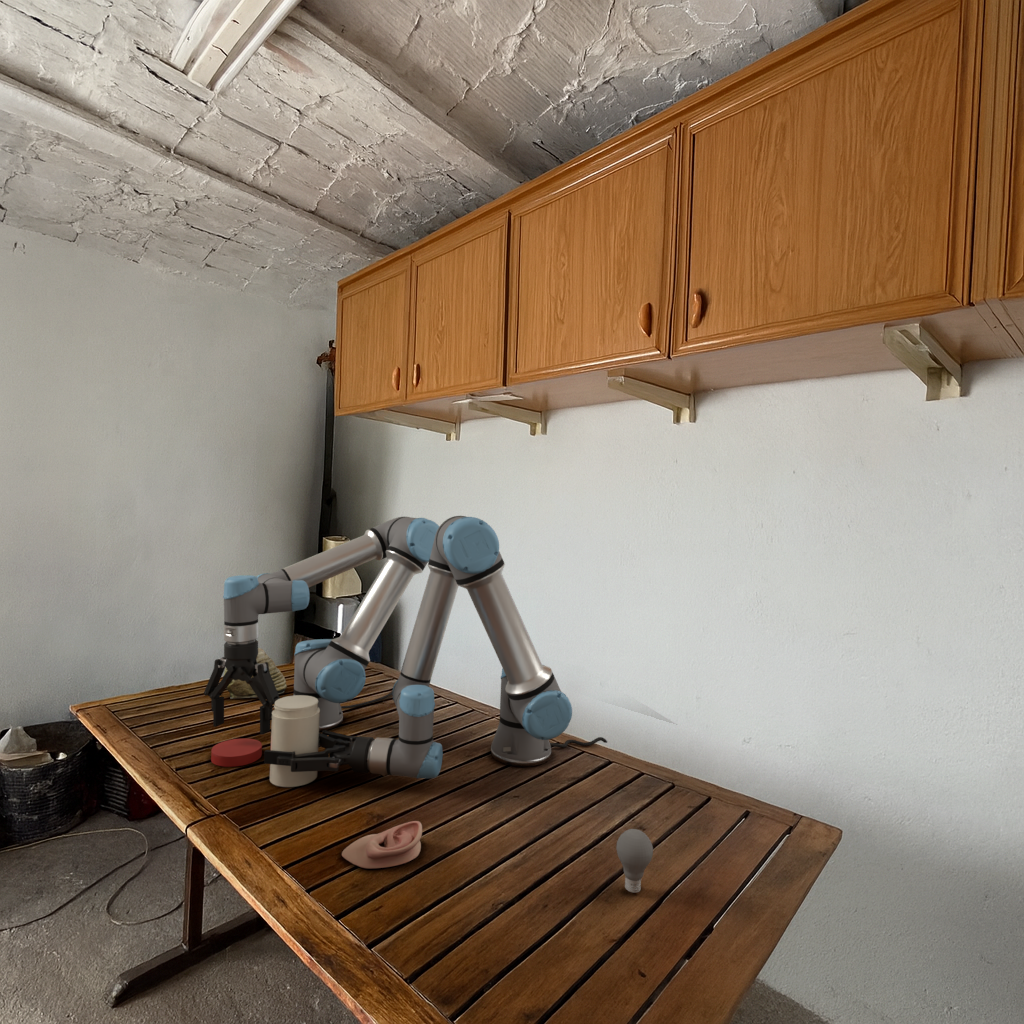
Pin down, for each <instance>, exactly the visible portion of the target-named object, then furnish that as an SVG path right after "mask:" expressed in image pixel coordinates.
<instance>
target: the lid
mask: <svg viewBox="0 0 1024 1024" xmlns="http://www.w3.org/2000/svg"><path fill="white" fill-rule="evenodd" d="M210 752H211V753H210V754H211V755H210V762H211V764H213V765H215V766H219V767H222V768H223V767H225V768H234V767H240V766H241V767H242V766H246V765H250V764H253V763H254V762H257V761H258V760H260V759H261V757H262V755H263V744H262V742H261V741H260V740H258V739H253V738H248V737H247V738H246V737H245V738H234V739H227V740H223V741H220V742H219V743H217V744H215V745H213V747H212V748H211V751H210Z"/></svg>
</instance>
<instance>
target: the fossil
mask: <svg viewBox="0 0 1024 1024" xmlns="http://www.w3.org/2000/svg"><path fill="white" fill-rule="evenodd" d="M256 660H257V663H258V664H261V663H265V662H267V663H268V664H269V672H270V675H271V677H272V680H273V682H274V685H275V687H276V690H277V692H278V695H281V694H284V693H285V691H286V689H287V687H288V686H287V680H286V678H285V676H284V674H283V673H282V672H281V669H279V668H278V667H277V665H276V663H275V662H274V660H273V659H272V658H271V657H270V656H269V655H268V654H267V653H266V652H265V650H264V649H263V648H260V647H258V655H257V658H256ZM227 671H228V670H227V668H226V667H225V669H224V672H223V674H222V677H223V676H224V675H225V673H226V672H227ZM251 678H253V676H252V677H251ZM225 690H226V691H228V693H229V698H230V699H250V698H258V697H257V695H256V694H255V692H254V691H253V689H252V687H251V686H250V684H247V683H246V681H241V680H232V681H231V683H230V684H229V685H228V687H227V688H226V689H225Z"/></svg>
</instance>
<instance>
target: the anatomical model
mask: <svg viewBox="0 0 1024 1024" xmlns="http://www.w3.org/2000/svg"><path fill="white" fill-rule="evenodd" d="M422 835H423V825H422V823H421V821H419V820H412V821H407V822H404V823H401V824H398V825H395V826H393V827H390V828H389V829H386V830H384V831H381V832H379V833H372V834H367V835H365V836H363V837H360V838H358V839H357V840H355V841H353V842H352V843H350V844H349V845H347V846H346V847H345V848H344V849H343V851H341V856H342V858H343V859H345V860H346V861H347V862H349V863H350V864H352V865H355V866H357V867H360V868H362V869H366V870H367V869H370V870H371V869H381V868H382V869H383V868H390V867H395V866H400V865H404V864H407V863H409V862H410V861H412V860H414V859H416V858H417V857H418V856H419V855H420V852H421V849H422V843H421V842H422V841H421V839H422Z"/></svg>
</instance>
